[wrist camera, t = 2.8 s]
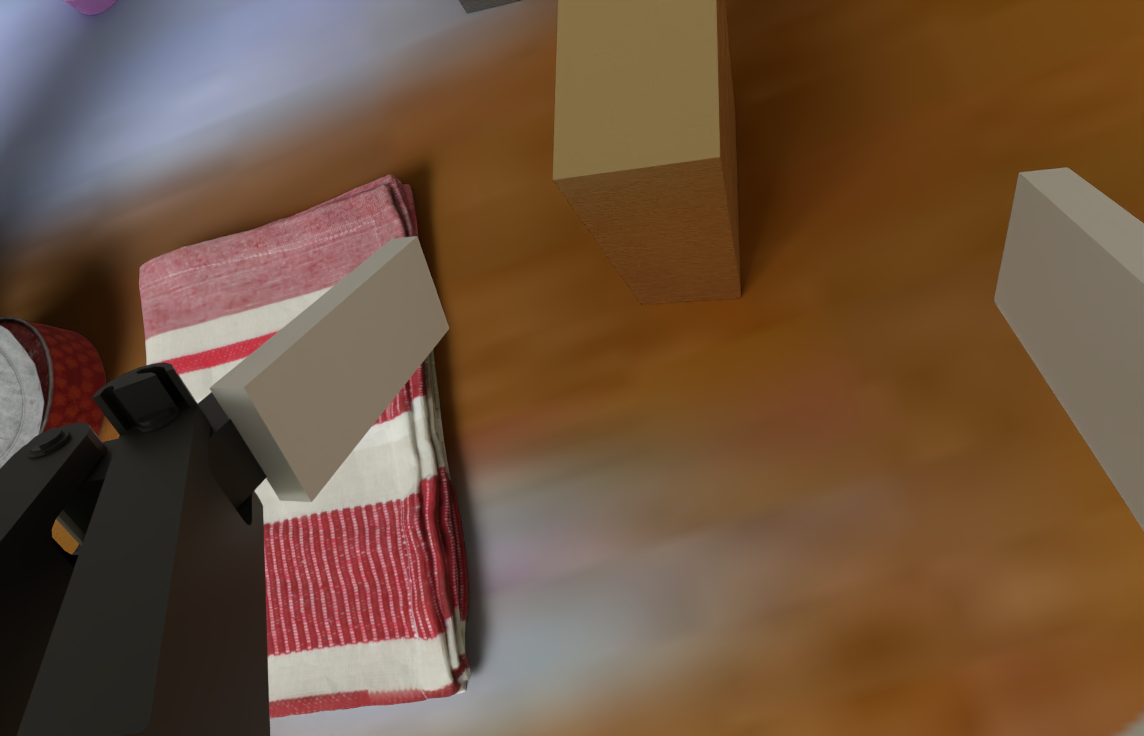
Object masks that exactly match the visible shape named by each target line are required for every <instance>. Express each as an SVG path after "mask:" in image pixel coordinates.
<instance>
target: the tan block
mask: <svg viewBox="0 0 1144 736" xmlns="http://www.w3.org/2000/svg"><path fill="white" fill-rule="evenodd" d="M553 181H554V183H555V184H556V185H557V187H558V188H559V190H560V191H561V192H562V194H563V195H564V197H565V198H566V199H567V201H568V202H569V204H570V205H571V206H572V208H573V209H574V211H575V212H576V214H577V215H578V216H579V218H580V219H581V221H582V222H583V223H584V225H585V226H586V228H587V229H588V230H589V232H590V233H591V235H592V236H593V237H594V239H595V240H596V242H597V243H598V245H599V246H600V247H601V249H602V250H603V252H604V253H605V254H606V256H607V257H608V259H609V260H610V261H611V263H612V264H613V266H614V267H615V268H616V270H617V271H618V273H619V274H620V276H621V277H622V278H623V280H624V281H625V283H626V284H627V285H628V287H629V288H630V290H631V291H632V292H633V294H634V295H635V297H636V298H637V299H638V301H639V302H640V304H641V305H643V304H658V303H673V302H688V301H703V300H718V299H733V298H741V281H740V248H739V214H738V181H737V147H736V114H735V103H734V92H733V81H732V70H731V58H730V47H729V36H728V25H727V14H726V2H725V0H558V21H557V54H556V87H555V121H554V154H553Z"/></svg>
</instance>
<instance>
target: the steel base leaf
mask: <svg viewBox="0 0 1144 736" xmlns="http://www.w3.org/2000/svg"><path fill="white" fill-rule="evenodd" d="M516 1H520V0H459V2H460V3H461V5H462V6H463V8H464V9H465V11H466V12H467V13H469V12H473V11H478V10H482V9H486V8H490V7H495V6H499V5H503V4H507V3H512V2H516Z"/></svg>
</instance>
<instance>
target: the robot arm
mask: <svg viewBox="0 0 1144 736" xmlns="http://www.w3.org/2000/svg"><path fill="white" fill-rule="evenodd" d="M994 302H995V304H996V305H997V307H998V308H999V310H1000V311H1001V313H1002V315H1003V316H1004V318H1005V319H1006V321H1007V322H1008V324H1009V325H1010V327H1011V328H1012V330H1013V331H1014V333H1015V334H1016V336H1017V338H1018V339H1019V341H1020V342H1021V344H1022V345H1023V347H1024V348H1025V350H1026V351H1027V353H1028V354H1029V356H1030V357H1031V359H1032V360H1033V362H1034V364H1035V365H1036V367H1037V368H1038V370H1039V371H1040V373H1041V374H1042V376H1043V377H1044V379H1045V380H1046V382H1047V383H1048V385H1049V387H1050V388H1051V390H1052V391H1053V393H1054V394H1055V396H1056V397H1057V399H1058V400H1059V402H1060V403H1061V405H1062V406H1063V408H1064V410H1065V411H1066V413H1067V414H1068V416H1069V417H1070V419H1071V420H1072V422H1073V423H1074V425H1075V426H1076V428H1077V429H1078V431H1079V433H1080V434H1081V436H1082V437H1083V439H1084V440H1085V442H1086V443H1087V445H1088V446H1089V448H1090V449H1091V451H1092V452H1093V454H1094V456H1095V457H1096V459H1097V460H1098V462H1099V463H1100V465H1101V466H1102V468H1103V469H1104V471H1105V472H1106V474H1107V475H1108V477H1109V479H1110V480H1111V482H1112V483H1113V485H1114V486H1115V488H1116V489H1117V491H1118V492H1119V494H1120V495H1121V497H1122V498H1123V500H1124V502H1125V503H1126V505H1127V506H1128V508H1129V509H1130V511H1131V512H1132V514H1133V515H1134V517H1135V518H1136V520H1137V521H1138V523H1139V525H1140V526H1141V528H1142V529H1143V531H1144V223H1143V222H1141V221H1140V220H1138V219H1137V218H1136V217H1134V216H1133V215H1132V214H1130V213H1129V212H1128V211H1126V210H1125V209H1123V208H1122V207H1121V206H1119V205H1118V204H1117V203H1115V202H1114V201H1113V200H1111V199H1110V198H1109V197H1107V196H1106V195H1104V194H1103V193H1102V192H1100V191H1099V190H1098V189H1096V188H1095V187H1094V186H1092V185H1091V184H1090V183H1088V182H1087V181H1085V180H1084V179H1083V178H1081V177H1080V176H1079V175H1077V174H1076V173H1075V172H1073V171H1072V170H1070V169H1069V168H1068V167H1066V168H1056V169H1047V170H1038V171H1028V172H1019V175H1018V180H1017V185H1016V190H1015V195H1014V200H1013V205H1012V211H1011V216H1010V221H1009V226H1008V231H1007V236H1006V241H1005V246H1004V251H1003V256H1002V261H1001V266H1000V271H999V276H998V281H997V287H996V292H995V297H994ZM448 330H449V326H448V323H447V320H446V317H445V314H444V311H443V309H442V306H441V303H440V300H439V297H438V294H437V291H436V288H435V286H434V283H433V280H432V277H431V274H430V271H429V268H428V265H427V263H426V260H425V257H424V254H423V251H422V248H421V245H420V242H419V240H418V237H417V236H413V237H404V238H394V239H391V240H390V241H388V242H387V243H386V244H385V245H384V246H382V247H381V248H380V249H379V250H377V251H376V252H375V253H374V254H373V255H371V256H370V257H369V258H368V259H366V260H365V261H364V262H363V263H362V264H360V265H359V266H358V267H357V268H355V269H354V270H353V271H352V272H351V273H349V274H348V275H347V276H346V277H344V278H343V279H342V280H341V281H340V282H338V283H337V284H336V285H335V286H333V287H332V288H331V289H330V290H329V291H327V292H326V293H325V294H324V295H322V296H321V297H320V298H319V299H318V300H316V301H315V302H314V303H313V304H311V305H310V306H309V307H308V308H307V309H305V310H304V311H303V312H302V313H300V314H299V315H298V316H297V317H296V318H294V319H293V320H292V321H291V322H289V323H288V324H287V325H286V326H285V327H283V328H282V329H281V330H280V331H278V332H277V333H276V334H275V335H274V336H272V337H271V338H270V339H269V340H267V341H266V342H265V343H264V344H263V345H261V346H260V347H259V348H258V349H256V350H255V351H254V352H253V353H252V354H250V355H249V356H248V357H247V358H245V359H244V360H243V361H242V362H241V363H239V364H238V365H237V366H236V367H234V368H233V369H232V370H231V371H230V372H228V373H227V374H226V375H225V376H223V377H222V378H221V379H220V380H219V381H217V382H216V383H215V384H214V385H212V386H211V387H210V390H211V393H210V394H209V395H208V396H206V397H205V398H204V399H203V400H201V401H200V402H199V403H198V404H197V402H196V401H195V399H194V397H193V396H192V394H191V393H190V391H189V390H188V388H187V387H186V385H185V384H184V382H183V381H182V379H181V378H180V376H179V374H178V373H177V371H176V370H175V368H174V367H173V365H172V364H169V363H165V362H163V363H154V364H150V365H147V366H143V367H139V368H137V369H134V370H132V371H130V372H127V373H125V374H123V375H121V376H119V377H117V378H116V379H114V380H112V381H110V382H109V383H107V384H106V385H105V386H103V387H102V388H101V389H99V390H98V391H97V392H96V394H95V395H94V396H93V397H92V399H93V400H94V402H95V403H96V404H97V405H98V407H99V408H100V409H101V411H102V412H103V413H104V415H105V416H106V417H107V419H108V420H109V421H110V422H111V424H112V425H113V426H114V428H115V429H116V430H117V432H118V433H119V434H120V436H119V439H115V440H111V441H106V442H102V441H101V440H100V438H99V437H98V436H97V434H96V433H95V432H94V431H93V429H92V428H91V427H90V426H89V424H88V423H81V422H79V423H73V424H68V425H65V426H62V427H59V428H56V427H55V428H52V429H49V430H47V431H46V432H43V433H41V434H39V435H37V436H35V437H34V438H33V439H32V440H31V441H30V442H29V443H28V444H26V445H24V446H23V447H22V448H21V449H19V450H18V451H17V452H16V453H15V454H14V455H13V456H12V457H11V458H10V459H9V460H8V461H7V462H6V463H5V464H4V465H3V466H2V467H1V468H0V736H270V715H269V683H268V650H267V617H266V584H265V552H264V519H263V505H262V502H261V500H260V499H259V497H258V495H257V494H256V492H255V490H256V488H257V487H258V486H259V485H260V484H261V483H262V482H263V481H264V480H265V479H267V481H268V482H269V484H270V485H271V487H272V488H273V490H274V492H275V493H276V495H277V496H278V498H279V500H280V501H296V502H312V501H313V500H314V499H315V498H316V496H317V495H318V494H319V492H320V491H321V490H322V489H323V487H324V486H325V485H326V484H327V482H328V481H329V480H330V479H331V477H332V476H333V475H334V474H335V472H336V471H337V470H338V468H339V467H340V466H341V465H342V463H343V462H344V461H345V460H346V458H347V457H348V456H349V455H350V453H351V452H352V451H353V450H354V448H355V447H356V446H357V445H358V443H359V442H360V441H361V439H362V438H363V437H364V436H365V434H366V433H367V432H368V431H369V429H370V428H371V427H372V426H373V424H374V423H375V422H376V421H377V419H378V418H379V417H380V415H381V414H382V413H383V412H384V410H385V409H386V408H387V407H388V405H389V404H390V403H391V402H392V400H393V399H394V398H395V397H396V395H397V394H398V393H399V391H400V390H401V389H402V388H403V386H404V385H405V384H406V383H407V381H408V380H409V379H410V378H411V376H412V375H413V374H414V373H415V371H416V370H417V369H418V367H419V366H420V365H421V364H422V362H423V361H424V360H425V359H426V357H427V356H428V355H429V354H430V352H431V351H432V350H433V349H434V347H435V346H436V345H437V344H438V342H439V341H440V340H441V338H442V337H443V336H444V335H445V333H446V332H447V331H448ZM55 519H57V520H58V521H59V523H60V524H61V525H62V526H63V527H64V528H65V529H66V530H67V531H68V532H69V533H70V534H71V535H72V537H73V538H74V539H75V540H76V541H77V542H78V543H79V546H78V547H77V549H76V550H75V552H74V553H73V554H72V555H71V554H69V553H67V552H66V551H64V550H63V548H62V547H61V546H60V545H59V544H58V543H57V542H56V541H55V540H54V539H53V538H52V530H51V529H52V527H53V524H54V522H55Z"/></svg>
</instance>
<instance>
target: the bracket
mask: <svg viewBox="0 0 1144 736" xmlns="http://www.w3.org/2000/svg"><path fill="white" fill-rule="evenodd" d="M64 1H65V2H67V3H68V4H70V5H71V6H72V7H74V8H75V9H77V10H78V11H80V12H81V13H83V14H86V15H95V14H98V13H101V12H103V11H105V10H106V9H108V8H109V7H110V6H112V5H113V4H114V3H115V2H116V1H117V0H64Z"/></svg>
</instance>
